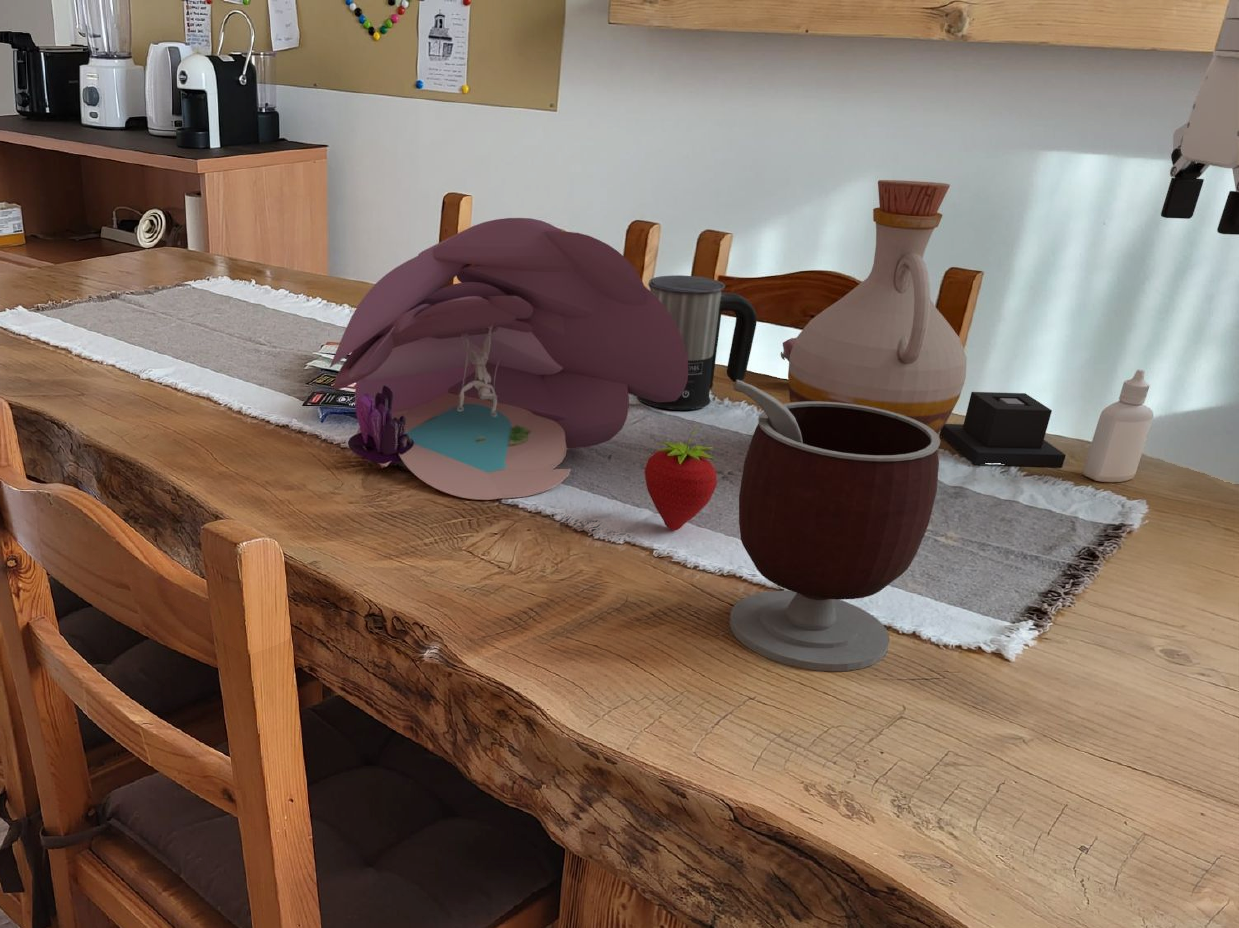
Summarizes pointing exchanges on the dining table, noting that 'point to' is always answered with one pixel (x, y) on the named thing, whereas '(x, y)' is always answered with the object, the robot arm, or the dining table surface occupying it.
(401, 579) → the dining table surface
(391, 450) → the purple rock cave
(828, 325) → the jug
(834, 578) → the mate gourd
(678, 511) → the strawberry
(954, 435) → the base pad
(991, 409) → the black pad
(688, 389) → the milk frother
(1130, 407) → the eye dropper bottle
